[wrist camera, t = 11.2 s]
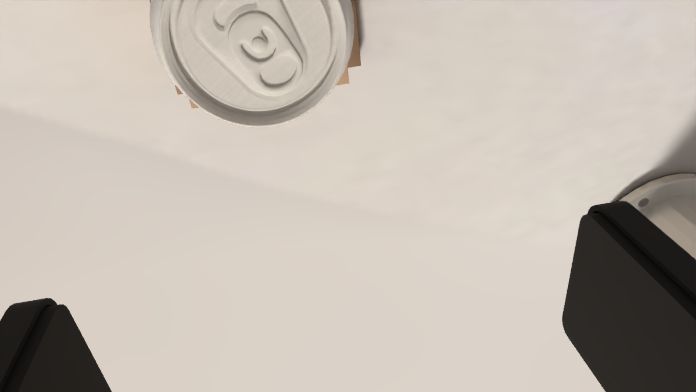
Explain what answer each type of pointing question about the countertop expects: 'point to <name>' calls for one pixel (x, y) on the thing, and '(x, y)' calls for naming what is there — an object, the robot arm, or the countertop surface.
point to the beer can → (253, 54)
